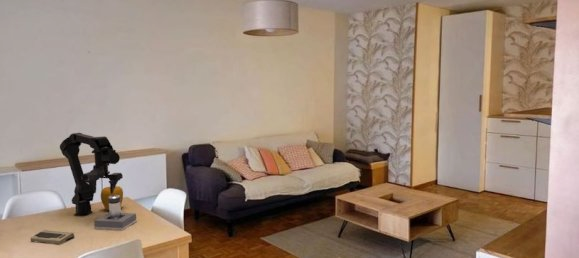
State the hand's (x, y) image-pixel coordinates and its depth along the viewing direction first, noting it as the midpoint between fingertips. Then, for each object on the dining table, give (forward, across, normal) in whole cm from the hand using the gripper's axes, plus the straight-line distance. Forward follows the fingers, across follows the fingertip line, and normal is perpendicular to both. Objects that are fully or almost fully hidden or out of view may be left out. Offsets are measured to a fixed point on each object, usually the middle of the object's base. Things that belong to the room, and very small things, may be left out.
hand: (103, 193), depth 203 cm
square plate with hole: (+13, +11, -8) cm, 19 cm away
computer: (+14, -6, -28) cm, 32 cm away
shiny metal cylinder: (+12, +11, -8) cm, 18 cm away
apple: (+13, -5, +15) cm, 21 cm away
